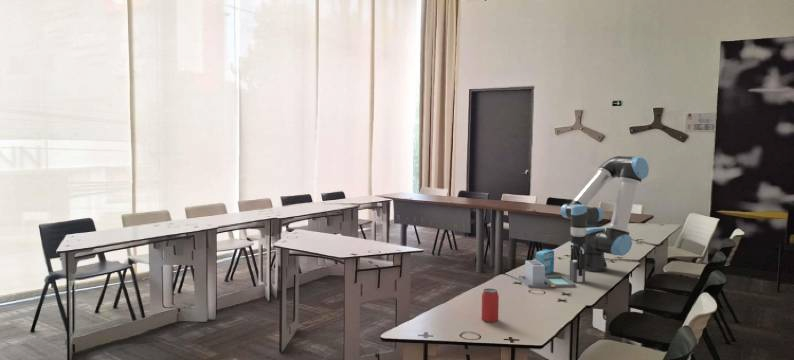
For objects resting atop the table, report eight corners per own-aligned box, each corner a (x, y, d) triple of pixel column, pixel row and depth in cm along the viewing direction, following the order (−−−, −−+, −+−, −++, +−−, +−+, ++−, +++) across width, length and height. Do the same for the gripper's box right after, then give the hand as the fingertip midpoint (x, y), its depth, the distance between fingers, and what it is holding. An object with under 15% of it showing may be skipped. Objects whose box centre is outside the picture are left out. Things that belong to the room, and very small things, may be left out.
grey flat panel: (562, 278, 274) (562, 275, 274) (576, 288, 255) (576, 285, 255) (518, 278, 272) (518, 276, 272) (529, 289, 254) (530, 286, 254)
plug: (580, 279, 271) (581, 259, 270) (584, 282, 266) (585, 261, 265) (569, 279, 271) (570, 259, 270) (573, 282, 266) (573, 261, 265)
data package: (542, 275, 279) (543, 253, 278) (535, 274, 282) (535, 252, 281) (553, 271, 287) (554, 250, 287) (546, 270, 291) (546, 248, 290)
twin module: (536, 279, 270) (537, 259, 270) (544, 286, 258) (544, 265, 258) (525, 279, 270) (525, 259, 269) (532, 286, 258) (532, 265, 257)
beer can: (479, 317, 213) (480, 288, 212) (495, 316, 214) (496, 287, 213) (483, 322, 207) (484, 292, 206) (500, 322, 207) (500, 292, 206)
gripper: (564, 232, 275) (563, 275, 277) (578, 238, 258) (576, 285, 259) (578, 232, 276) (577, 275, 278) (593, 238, 258) (591, 285, 260)
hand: (577, 280), depth 269 cm, fingers closed on plug, 5 cm apart
